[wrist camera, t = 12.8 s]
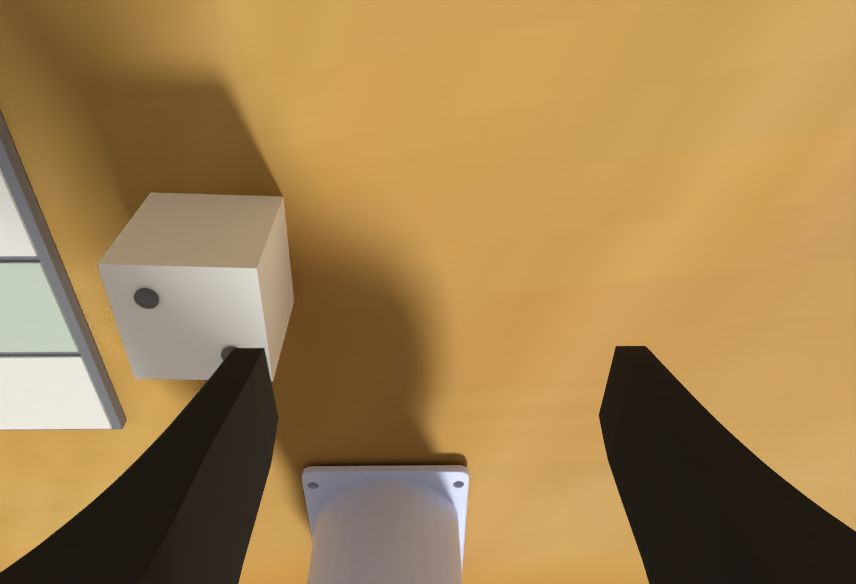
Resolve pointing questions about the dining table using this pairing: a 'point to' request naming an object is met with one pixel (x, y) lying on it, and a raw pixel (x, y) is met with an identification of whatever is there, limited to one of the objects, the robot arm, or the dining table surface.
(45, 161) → the dining table surface
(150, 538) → the robot arm
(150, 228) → the die
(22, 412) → the board
